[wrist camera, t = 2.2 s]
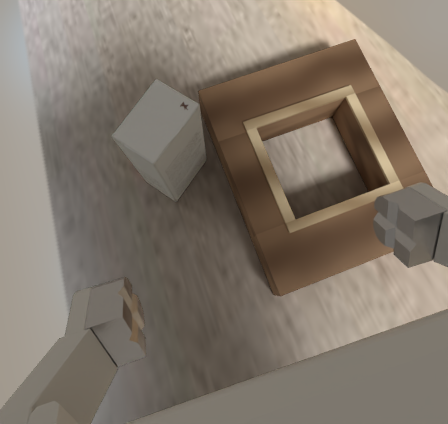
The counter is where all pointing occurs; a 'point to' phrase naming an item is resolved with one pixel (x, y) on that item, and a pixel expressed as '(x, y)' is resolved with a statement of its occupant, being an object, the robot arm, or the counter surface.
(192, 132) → the skincare box
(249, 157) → the walnut socket board
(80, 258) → the counter surface
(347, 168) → the counter surface
